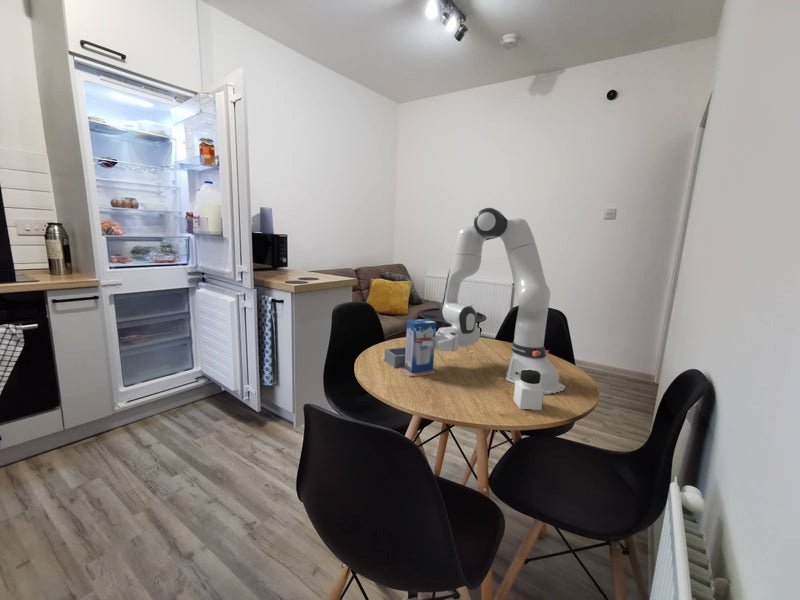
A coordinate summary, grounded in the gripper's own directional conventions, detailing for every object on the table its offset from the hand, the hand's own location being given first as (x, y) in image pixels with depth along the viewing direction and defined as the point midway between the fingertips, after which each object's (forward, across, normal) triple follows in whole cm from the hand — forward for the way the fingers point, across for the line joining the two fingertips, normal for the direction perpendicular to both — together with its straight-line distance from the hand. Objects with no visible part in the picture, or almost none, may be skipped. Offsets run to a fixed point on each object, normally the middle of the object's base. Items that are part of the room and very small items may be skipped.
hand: (416, 340), depth 138 cm
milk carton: (-2, 0, +12) cm, 13 cm away
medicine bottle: (-21, +39, +13) cm, 46 cm away
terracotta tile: (-1, 0, +13) cm, 13 cm away
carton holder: (-1, -11, +13) cm, 17 cm away
